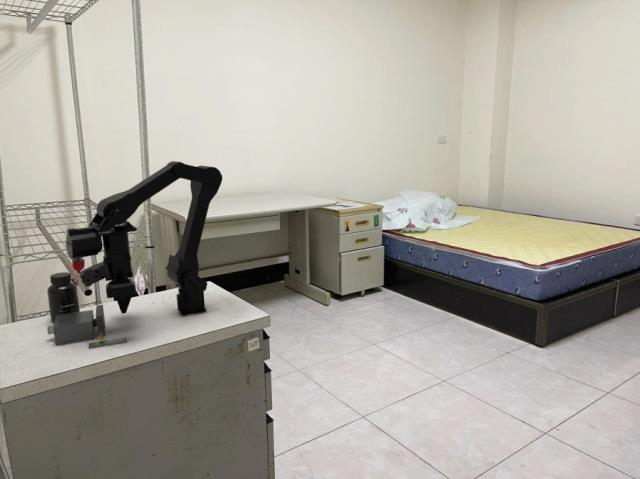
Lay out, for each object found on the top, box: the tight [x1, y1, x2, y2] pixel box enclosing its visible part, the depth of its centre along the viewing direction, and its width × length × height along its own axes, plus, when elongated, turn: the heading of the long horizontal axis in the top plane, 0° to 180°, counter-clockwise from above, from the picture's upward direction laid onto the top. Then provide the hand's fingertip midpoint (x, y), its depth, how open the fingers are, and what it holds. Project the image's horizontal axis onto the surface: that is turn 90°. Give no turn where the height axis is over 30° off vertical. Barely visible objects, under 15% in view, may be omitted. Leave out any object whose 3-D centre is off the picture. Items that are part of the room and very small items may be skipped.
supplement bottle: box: [46, 271, 81, 323], centre depth 123 cm, size 7×7×12 cm
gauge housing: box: [53, 309, 128, 350], centre depth 113 cm, size 15×13×4 cm
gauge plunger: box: [46, 304, 106, 342], centre depth 112 cm, size 12×13×5 cm
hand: (123, 312), depth 118 cm, fingers closed
